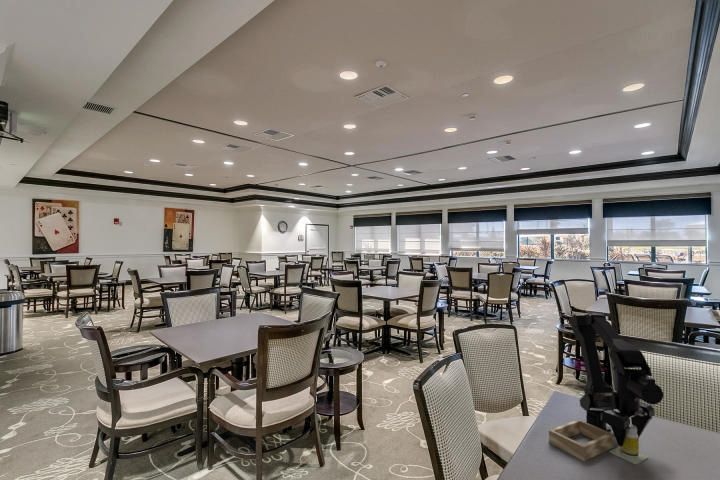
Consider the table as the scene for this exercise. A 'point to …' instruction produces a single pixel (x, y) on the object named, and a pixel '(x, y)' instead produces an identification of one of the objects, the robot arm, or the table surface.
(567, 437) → the wooden box
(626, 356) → the robot arm
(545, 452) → the table surface
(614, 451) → the sage mat
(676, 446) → the table surface
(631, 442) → the supplement bottle
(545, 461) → the table surface
